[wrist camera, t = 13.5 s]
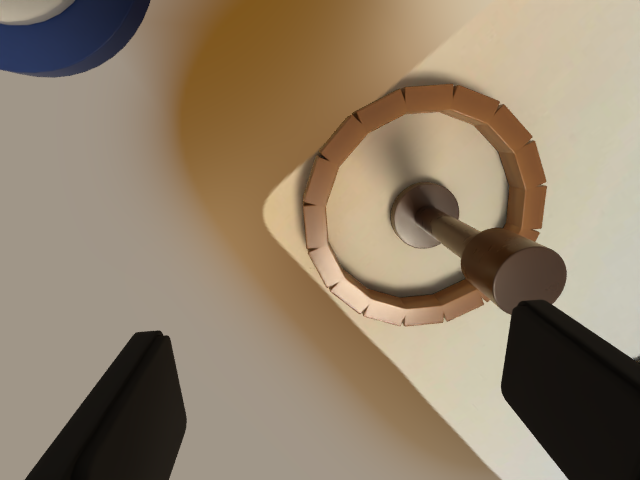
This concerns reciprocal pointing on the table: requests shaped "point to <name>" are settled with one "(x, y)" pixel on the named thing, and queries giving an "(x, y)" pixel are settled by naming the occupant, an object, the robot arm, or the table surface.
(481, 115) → the ring
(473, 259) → the brown peg stand
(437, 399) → the table surface
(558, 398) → the robot arm
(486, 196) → the table surface
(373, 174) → the table surface
